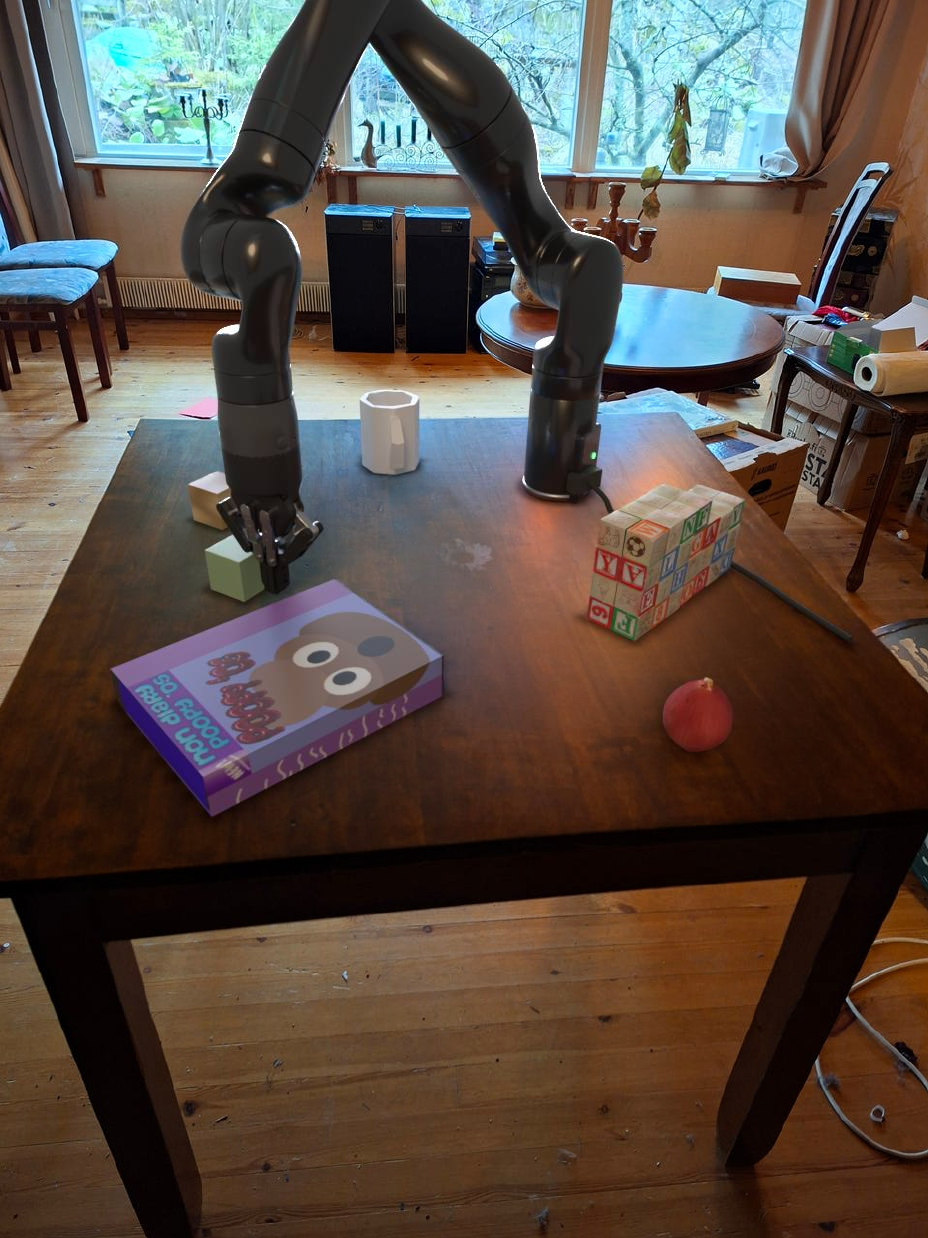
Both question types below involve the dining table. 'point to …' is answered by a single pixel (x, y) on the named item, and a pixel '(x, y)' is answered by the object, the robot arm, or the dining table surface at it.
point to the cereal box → (276, 690)
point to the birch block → (209, 499)
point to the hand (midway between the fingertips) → (276, 589)
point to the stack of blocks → (660, 555)
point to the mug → (389, 431)
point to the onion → (698, 716)
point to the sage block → (233, 570)
